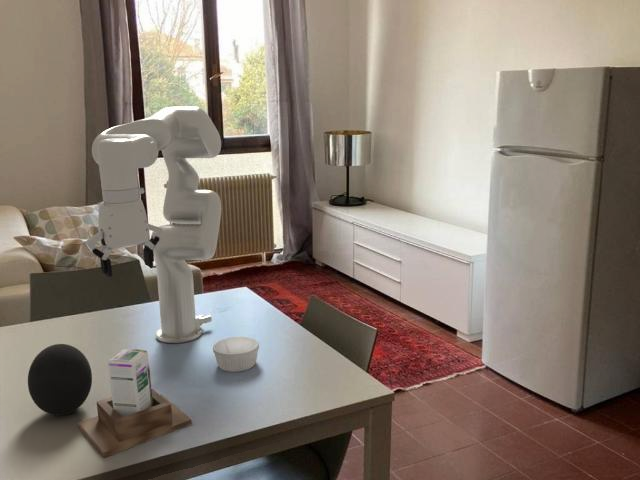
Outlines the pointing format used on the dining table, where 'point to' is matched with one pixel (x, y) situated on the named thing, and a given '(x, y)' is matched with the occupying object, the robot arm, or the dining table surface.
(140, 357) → the syrup box
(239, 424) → the dining table surface
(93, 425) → the walnut holder
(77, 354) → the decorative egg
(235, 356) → the ramekin
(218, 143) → the robot arm
